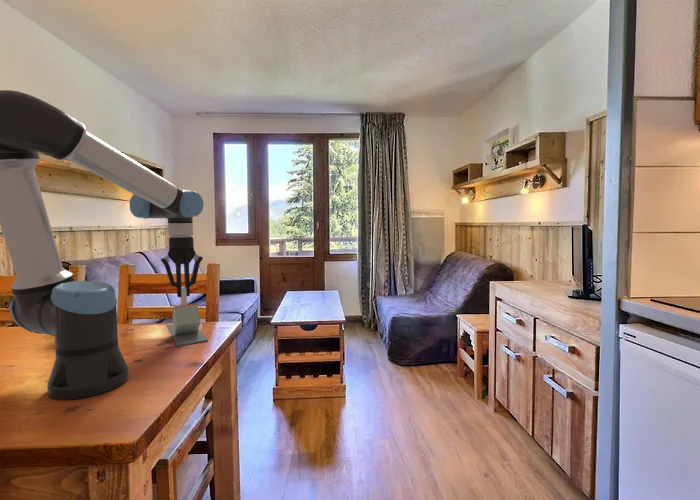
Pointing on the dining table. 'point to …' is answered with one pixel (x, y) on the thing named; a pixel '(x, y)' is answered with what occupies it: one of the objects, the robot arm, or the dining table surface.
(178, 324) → the block
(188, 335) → the mat
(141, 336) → the dining table surface
